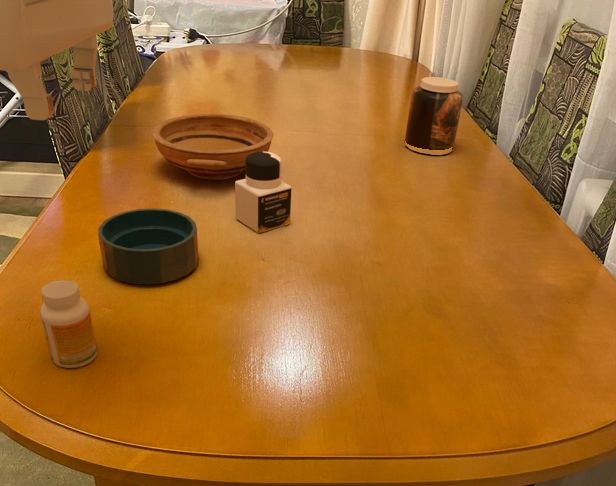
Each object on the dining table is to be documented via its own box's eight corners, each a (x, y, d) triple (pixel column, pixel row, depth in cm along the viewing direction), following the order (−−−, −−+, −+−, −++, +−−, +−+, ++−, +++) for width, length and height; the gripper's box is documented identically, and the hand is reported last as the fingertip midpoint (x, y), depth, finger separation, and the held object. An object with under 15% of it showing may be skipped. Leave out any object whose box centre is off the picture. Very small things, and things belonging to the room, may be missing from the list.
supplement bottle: (107, 352, 76) (95, 285, 70) (73, 375, 72) (57, 306, 66) (76, 338, 78) (62, 271, 72) (42, 359, 74) (24, 291, 68)
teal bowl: (90, 283, 88) (83, 246, 85) (121, 239, 100) (116, 205, 96) (187, 291, 88) (184, 254, 84) (206, 246, 99) (204, 212, 96)
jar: (399, 151, 142) (409, 83, 133) (408, 136, 151) (418, 72, 142) (449, 159, 140) (462, 90, 131) (456, 144, 149) (469, 79, 140)
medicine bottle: (258, 234, 104) (258, 165, 97) (234, 219, 108) (233, 152, 101) (290, 224, 108) (293, 157, 100) (267, 210, 112) (268, 145, 105)
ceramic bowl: (169, 143, 138) (166, 106, 133) (275, 148, 139) (276, 112, 134) (141, 194, 114) (136, 152, 109) (269, 201, 115) (270, 159, 110)
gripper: (51, -92, 55) (77, 72, 63) (-91, -88, 38) (-30, 133, 47) (119, -87, 54) (137, 78, 63) (6, -80, 38) (50, 141, 46)
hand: (65, 102), depth 54 cm, fingers open, 8 cm apart
